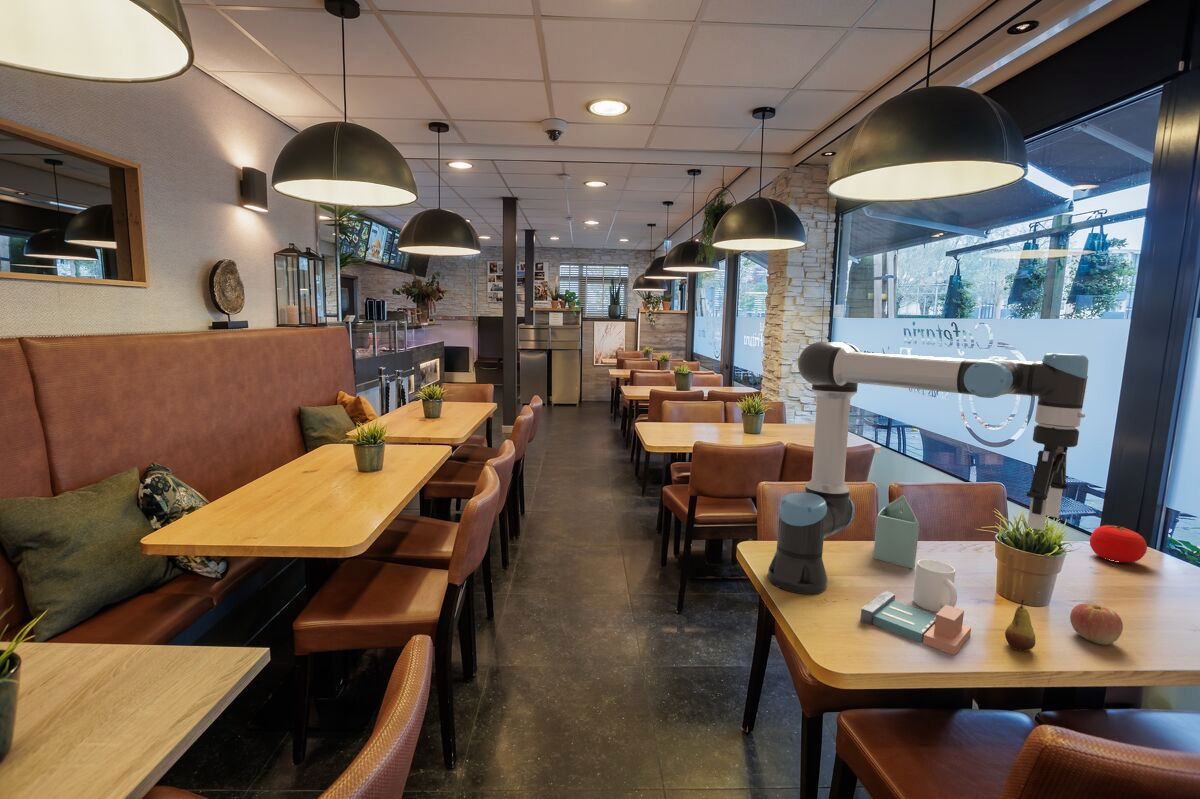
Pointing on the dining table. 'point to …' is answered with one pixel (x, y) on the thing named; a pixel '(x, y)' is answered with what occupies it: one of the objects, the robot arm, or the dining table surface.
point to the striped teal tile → (904, 620)
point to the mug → (934, 585)
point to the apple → (1096, 623)
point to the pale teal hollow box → (896, 534)
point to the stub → (948, 630)
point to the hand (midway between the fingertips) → (1043, 522)
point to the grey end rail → (876, 606)
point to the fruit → (1020, 630)
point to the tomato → (1118, 543)
